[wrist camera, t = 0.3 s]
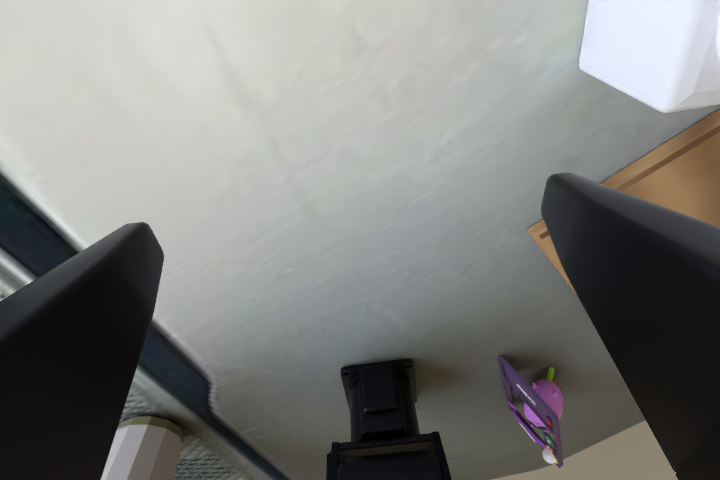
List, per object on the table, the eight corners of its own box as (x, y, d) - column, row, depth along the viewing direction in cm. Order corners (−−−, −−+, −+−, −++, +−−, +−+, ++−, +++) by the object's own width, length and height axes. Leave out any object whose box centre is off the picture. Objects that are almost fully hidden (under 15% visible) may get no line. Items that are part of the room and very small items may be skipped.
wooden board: (597, 320, 34) (604, 330, 33) (526, 228, 28) (532, 237, 27) (887, 176, 27) (905, 183, 26) (878, 8, 21) (901, 11, 20)
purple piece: (546, 423, 30) (552, 473, 36) (601, 387, 31) (600, 441, 36) (490, 361, 36) (503, 411, 41) (538, 331, 37) (544, 385, 42)
